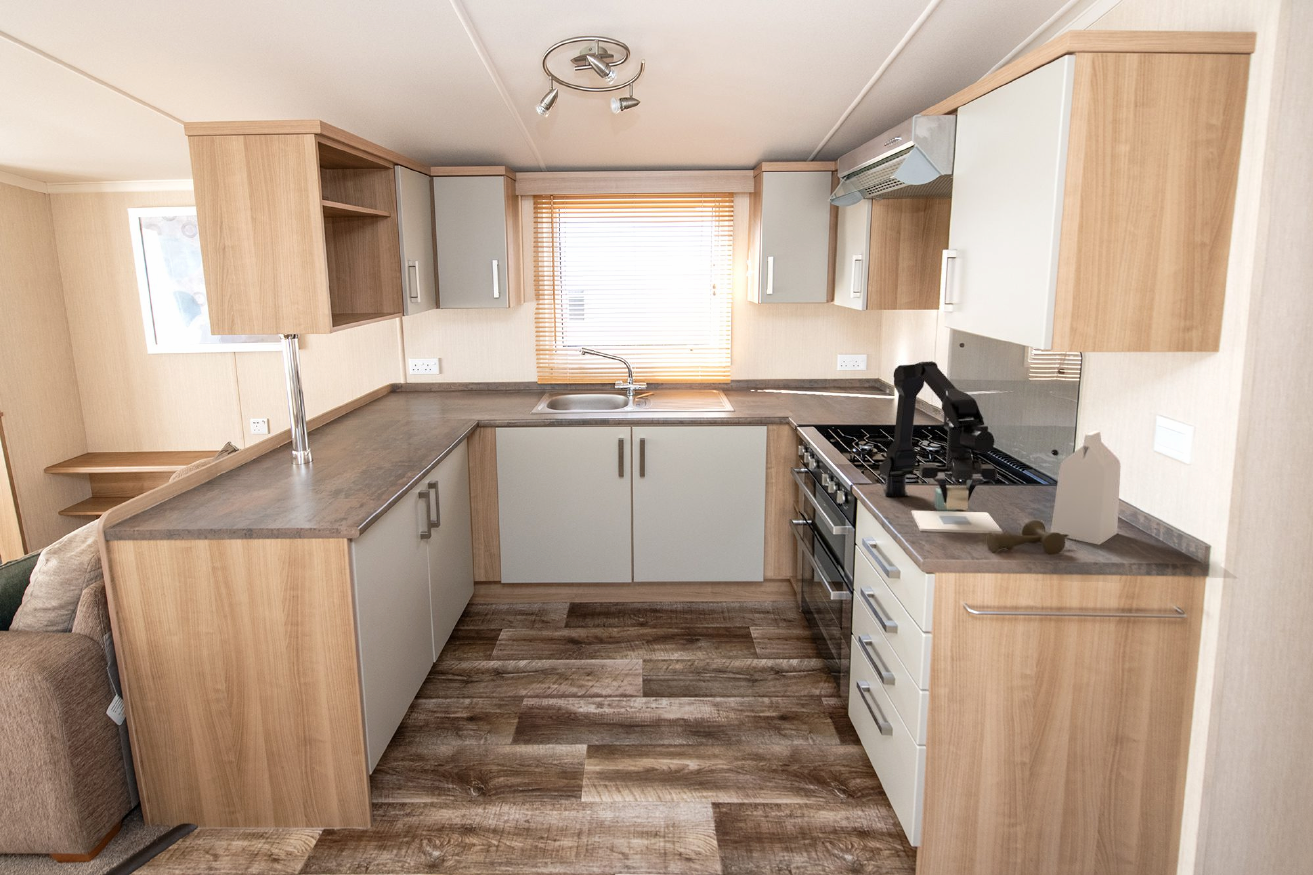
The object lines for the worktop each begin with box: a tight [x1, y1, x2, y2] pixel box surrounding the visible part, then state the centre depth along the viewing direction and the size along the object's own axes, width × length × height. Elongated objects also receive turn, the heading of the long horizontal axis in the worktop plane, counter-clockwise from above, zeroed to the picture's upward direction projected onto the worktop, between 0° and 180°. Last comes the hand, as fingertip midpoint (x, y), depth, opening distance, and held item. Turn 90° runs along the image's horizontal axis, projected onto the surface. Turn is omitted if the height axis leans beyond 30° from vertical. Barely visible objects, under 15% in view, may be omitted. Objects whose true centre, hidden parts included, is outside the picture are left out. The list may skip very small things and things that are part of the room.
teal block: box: [934, 488, 957, 512], centre depth 227 cm, size 5×5×5 cm
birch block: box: [944, 485, 969, 511], centre depth 212 cm, size 5×5×5 cm
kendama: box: [985, 519, 1069, 555], centre depth 193 cm, size 6×10×20 cm
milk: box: [1050, 430, 1121, 545], centre depth 201 cm, size 12×12×26 cm
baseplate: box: [911, 510, 1003, 534], centre depth 214 cm, size 16×20×1 cm
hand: (955, 502), depth 213 cm, fingers closed on birch block, 5 cm apart
